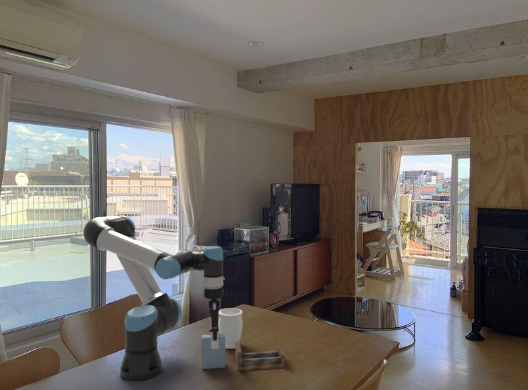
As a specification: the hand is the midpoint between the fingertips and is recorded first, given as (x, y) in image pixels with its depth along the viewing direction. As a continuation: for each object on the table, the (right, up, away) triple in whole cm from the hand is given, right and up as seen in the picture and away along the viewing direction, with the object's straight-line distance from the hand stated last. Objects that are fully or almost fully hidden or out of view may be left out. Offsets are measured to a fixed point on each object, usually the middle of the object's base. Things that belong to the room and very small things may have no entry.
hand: (214, 341), depth 152 cm
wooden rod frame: (+17, -10, +3) cm, 20 cm away
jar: (+4, -10, +20) cm, 23 cm away
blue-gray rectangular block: (0, -10, 0) cm, 10 cm away
